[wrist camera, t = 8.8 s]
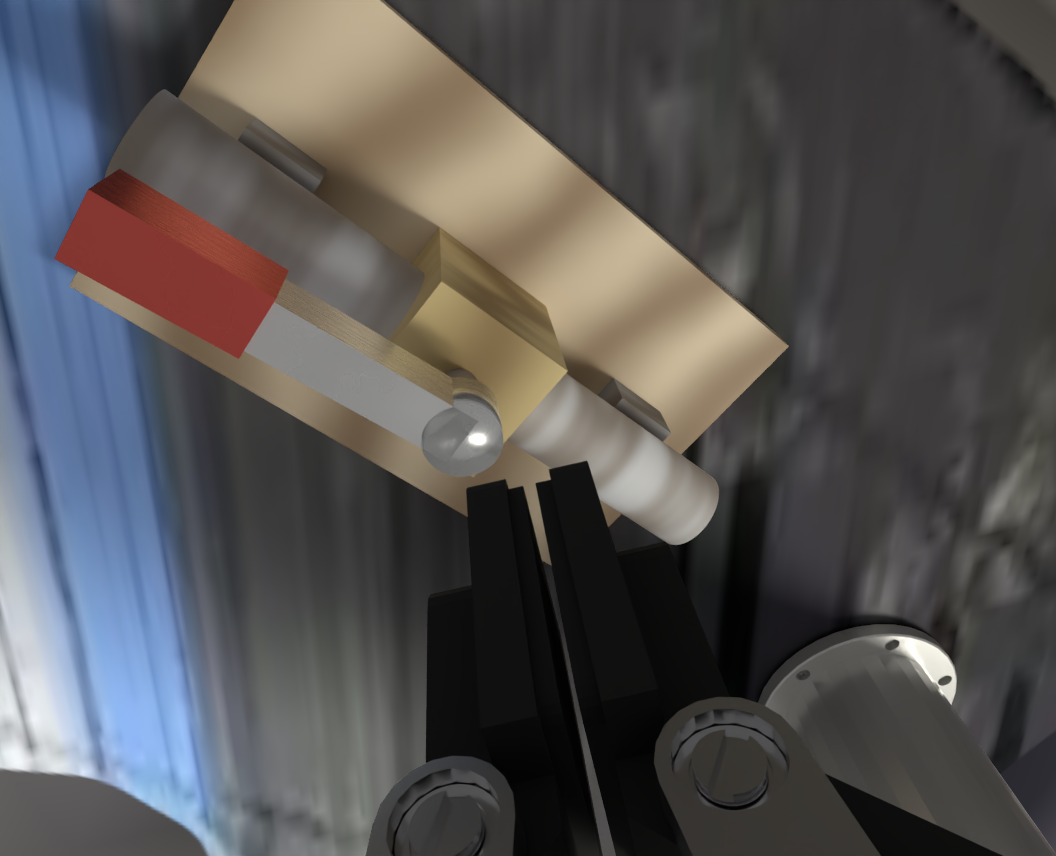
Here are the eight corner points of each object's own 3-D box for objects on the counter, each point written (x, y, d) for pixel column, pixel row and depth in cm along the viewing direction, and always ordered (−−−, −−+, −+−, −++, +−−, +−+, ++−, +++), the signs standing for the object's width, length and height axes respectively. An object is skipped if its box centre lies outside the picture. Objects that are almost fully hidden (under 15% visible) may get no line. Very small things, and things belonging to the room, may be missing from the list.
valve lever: (122, 162, 22) (91, 182, 20) (513, 399, 27) (520, 434, 25) (84, 238, 23) (51, 264, 21) (469, 453, 28) (473, 492, 26)
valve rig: (776, 333, 38) (871, 435, 30) (559, 554, 43) (588, 692, 35) (288, -81, 28) (230, -98, 20) (83, 273, 33) (-30, 374, 25)
